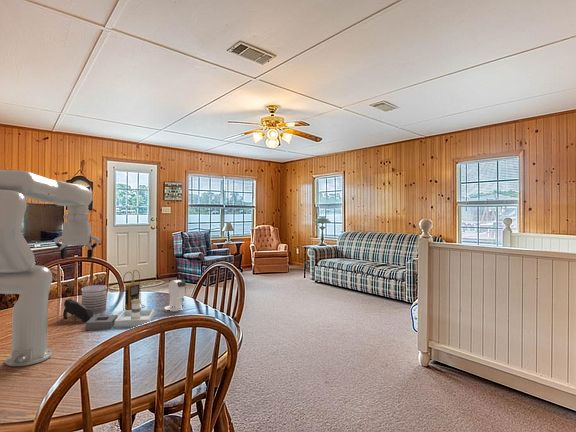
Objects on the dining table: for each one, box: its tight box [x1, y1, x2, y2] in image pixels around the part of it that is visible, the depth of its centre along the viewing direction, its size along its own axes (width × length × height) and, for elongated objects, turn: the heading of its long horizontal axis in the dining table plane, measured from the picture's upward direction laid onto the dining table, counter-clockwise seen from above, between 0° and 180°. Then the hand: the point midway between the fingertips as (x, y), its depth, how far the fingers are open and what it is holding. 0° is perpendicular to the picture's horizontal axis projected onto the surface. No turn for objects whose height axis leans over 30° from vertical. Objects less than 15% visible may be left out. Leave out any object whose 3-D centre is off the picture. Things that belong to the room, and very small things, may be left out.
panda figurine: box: [164, 277, 187, 312], centre depth 179 cm, size 12×11×15 cm
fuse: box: [131, 298, 142, 320], centre depth 156 cm, size 4×4×9 cm
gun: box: [62, 298, 94, 323], centre depth 156 cm, size 3×16×10 cm, turn 79°
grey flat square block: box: [85, 314, 119, 331], centre depth 149 cm, size 10×10×3 cm
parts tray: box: [113, 309, 155, 329], centre depth 156 cm, size 16×14×3 cm
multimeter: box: [122, 269, 145, 312], centre depth 175 cm, size 15×10×20 cm
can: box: [81, 284, 108, 315], centre depth 171 cm, size 11×11×12 cm
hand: (76, 258), depth 142 cm, fingers open, 9 cm apart
